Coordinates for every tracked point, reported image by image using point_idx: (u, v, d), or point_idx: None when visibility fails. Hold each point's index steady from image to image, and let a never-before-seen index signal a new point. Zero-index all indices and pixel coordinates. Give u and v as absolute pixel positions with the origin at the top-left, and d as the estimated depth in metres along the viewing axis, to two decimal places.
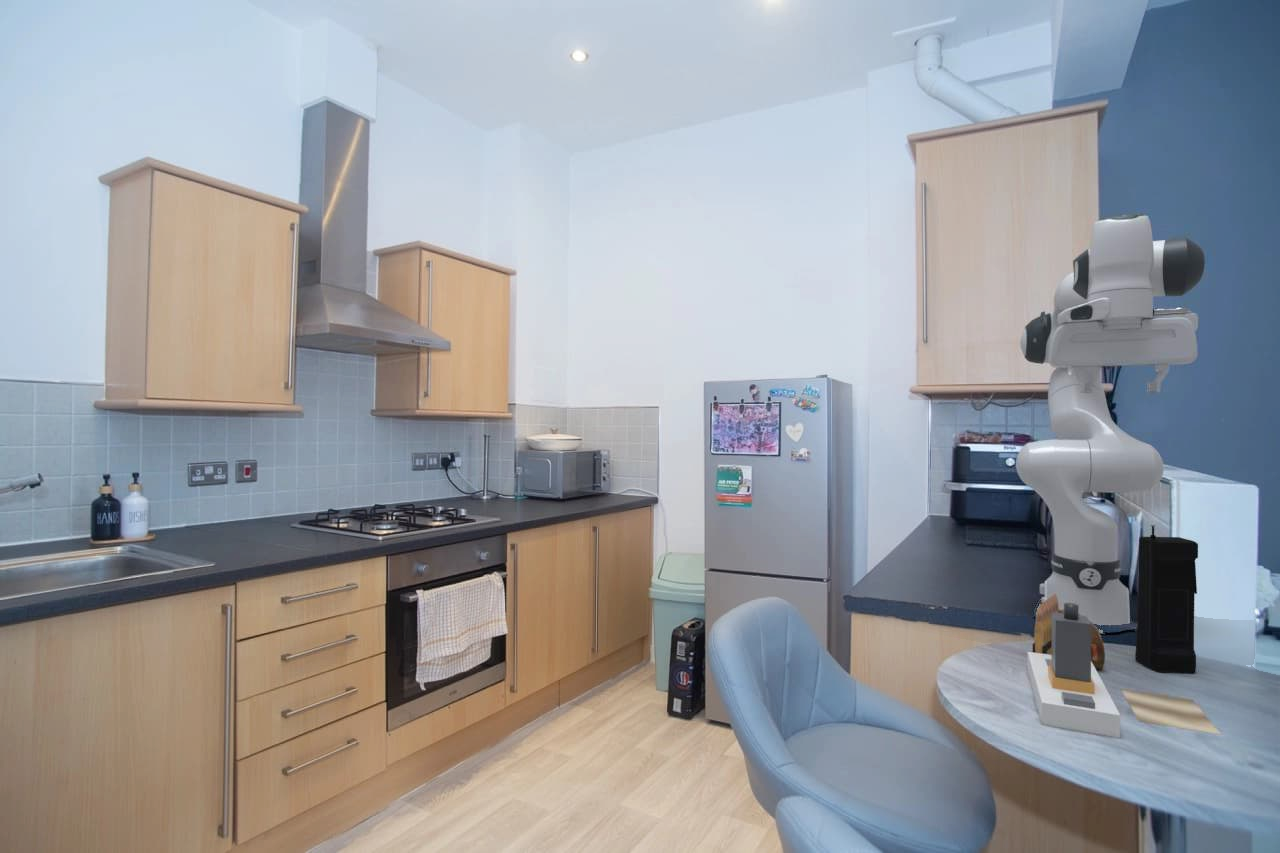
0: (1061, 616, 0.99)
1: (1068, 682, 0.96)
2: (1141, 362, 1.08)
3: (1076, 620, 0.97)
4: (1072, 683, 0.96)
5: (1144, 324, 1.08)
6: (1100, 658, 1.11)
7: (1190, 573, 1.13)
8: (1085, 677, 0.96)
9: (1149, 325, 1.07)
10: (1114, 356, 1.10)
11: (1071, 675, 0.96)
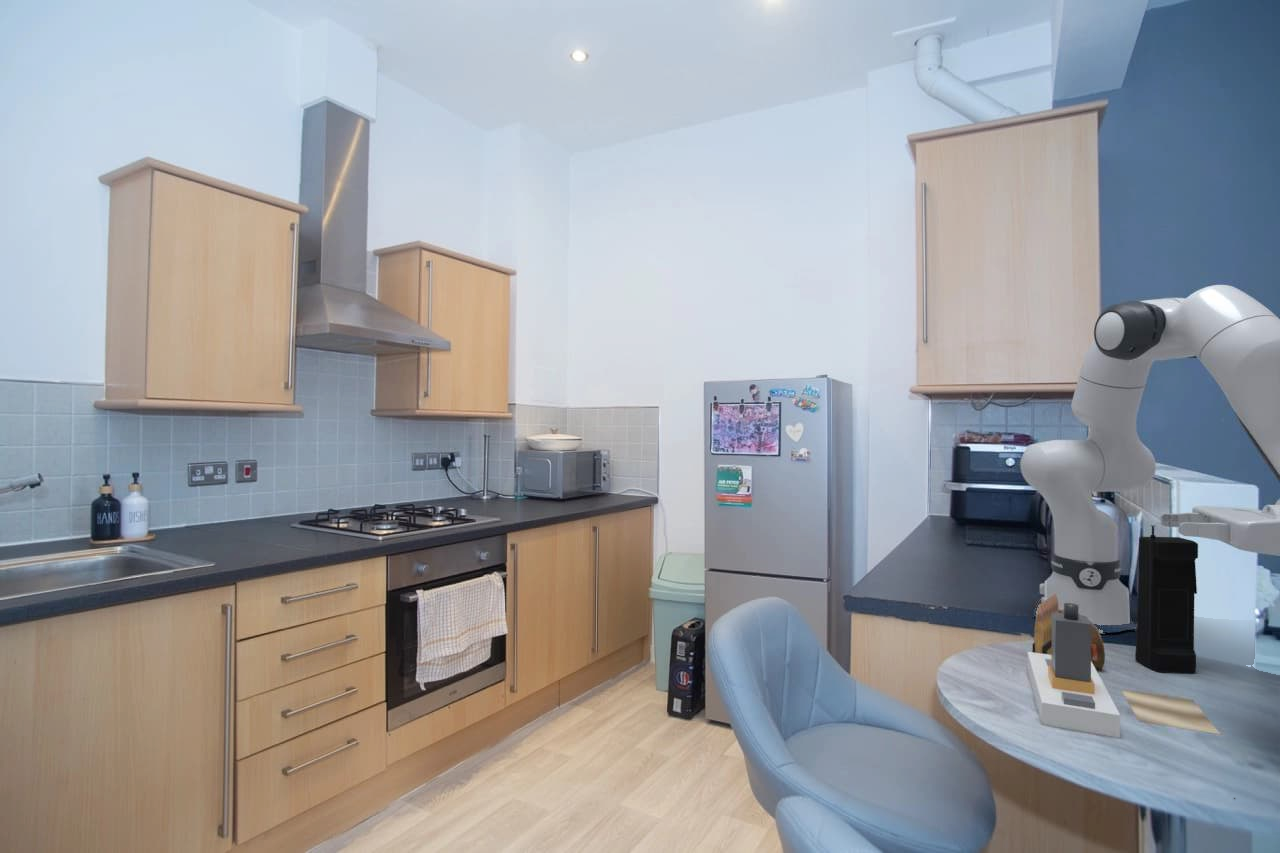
0: (1061, 616, 0.99)
1: (1068, 682, 0.96)
2: None
3: (1076, 620, 0.97)
4: (1072, 683, 0.96)
5: None
6: (1100, 658, 1.11)
7: (1190, 573, 1.13)
8: (1085, 677, 0.96)
9: None
10: None
11: (1071, 675, 0.96)
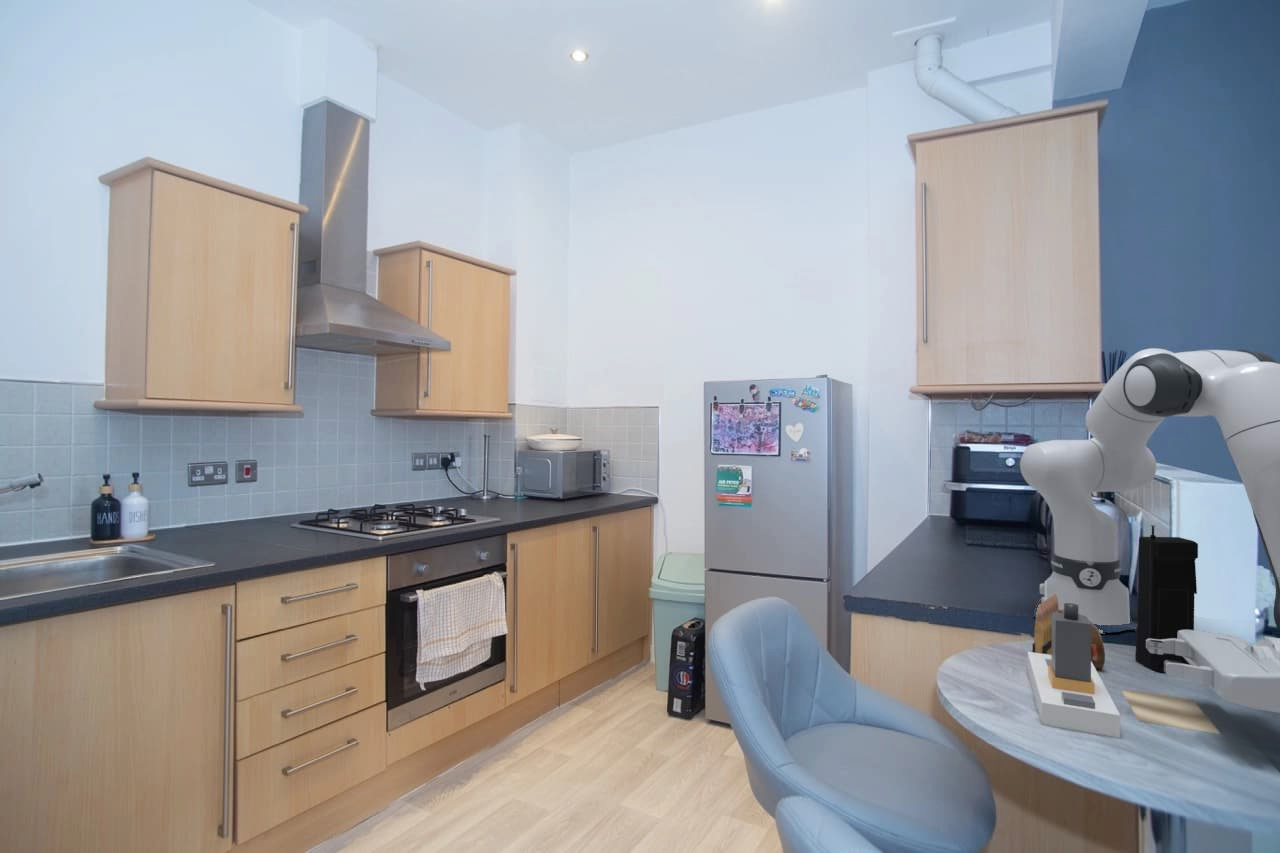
0: (1061, 616, 0.99)
1: (1068, 682, 0.96)
2: None
3: (1076, 620, 0.97)
4: (1072, 683, 0.96)
5: None
6: (1100, 658, 1.11)
7: (1190, 573, 1.13)
8: (1085, 677, 0.96)
9: None
10: None
11: (1071, 675, 0.96)
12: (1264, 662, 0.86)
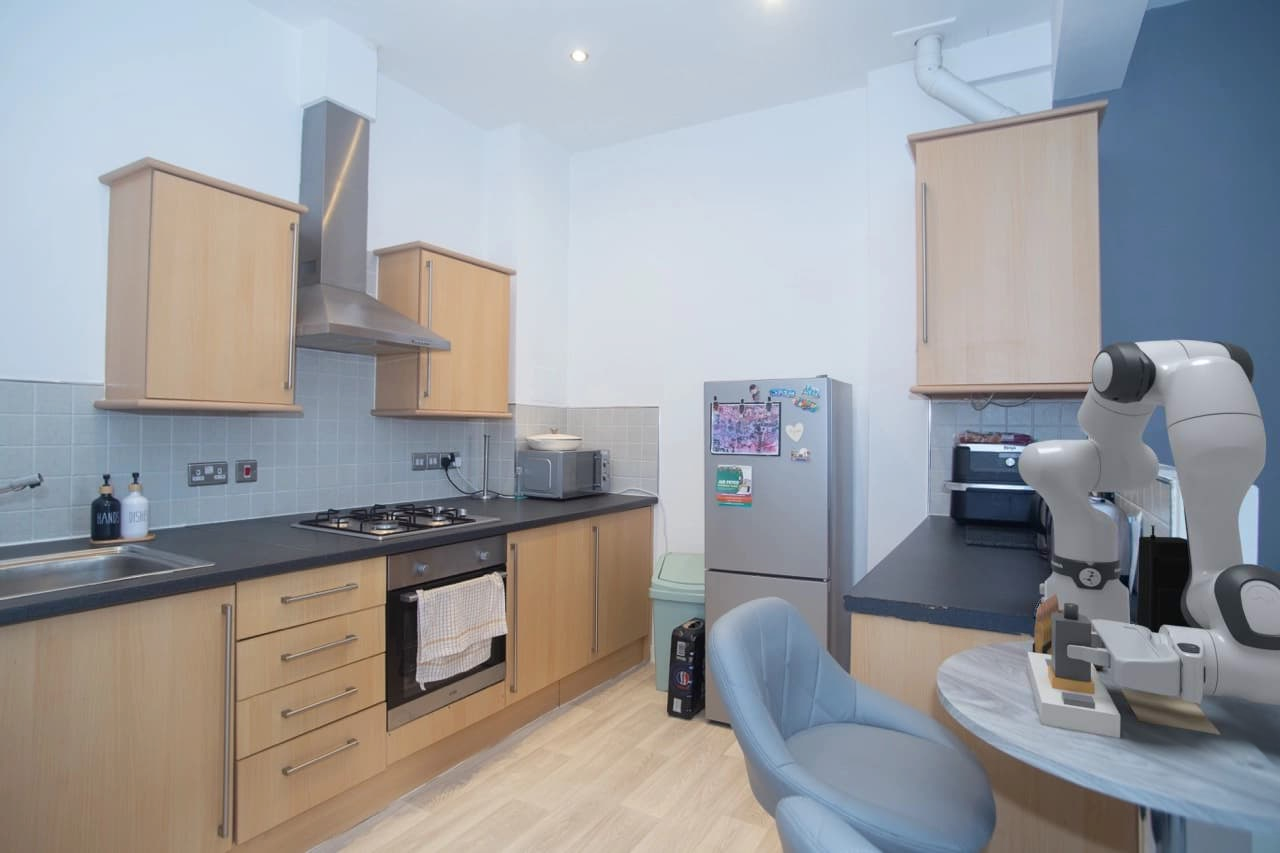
0: (1061, 616, 0.99)
1: (1068, 682, 0.96)
2: None
3: (1076, 620, 0.97)
4: (1072, 683, 0.96)
5: None
6: None
7: None
8: (1085, 677, 0.96)
9: None
10: None
11: (1071, 675, 0.96)
12: (1158, 648, 0.90)
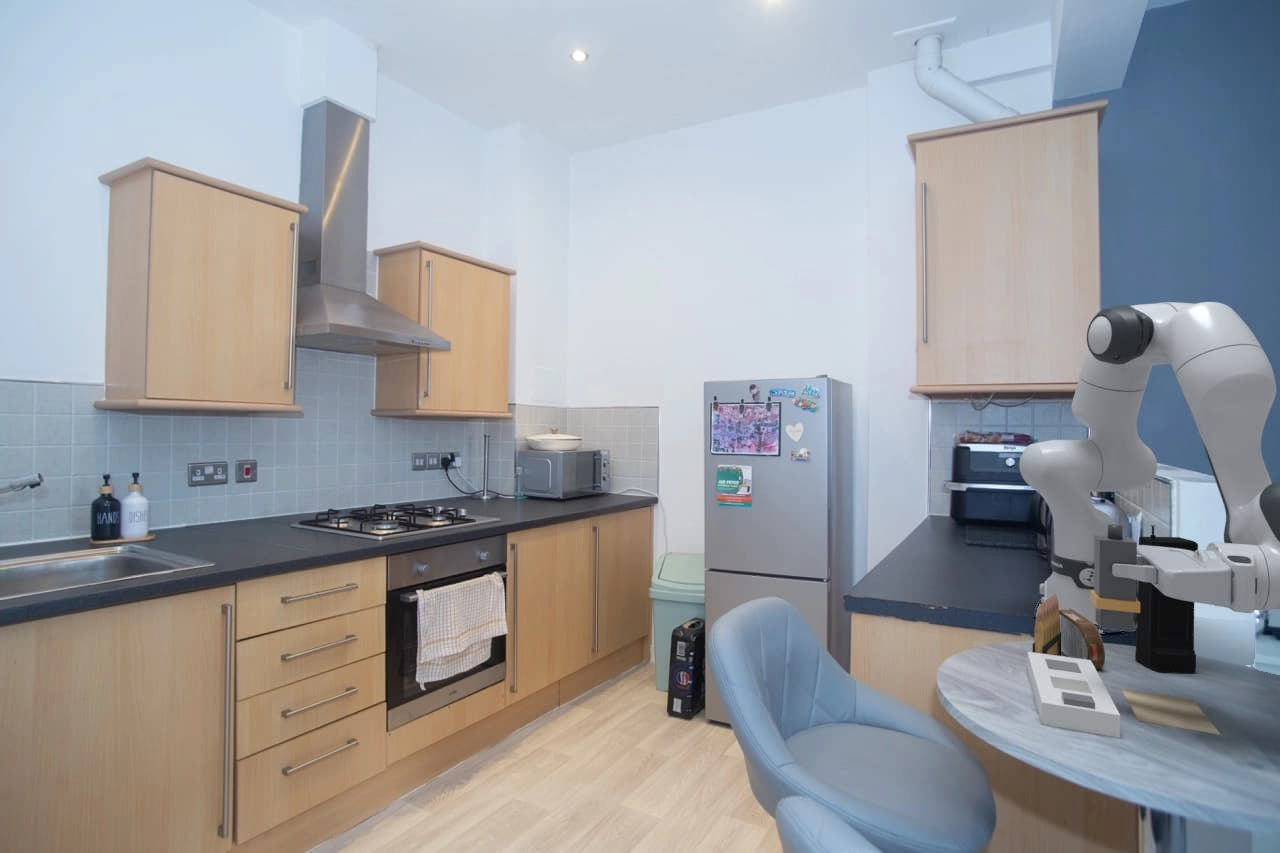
0: (1105, 537, 0.98)
1: (1112, 602, 0.95)
2: None
3: (1120, 540, 0.96)
4: (1117, 602, 0.95)
5: None
6: (1100, 658, 1.11)
7: None
8: (1130, 596, 0.95)
9: None
10: None
11: (1116, 595, 0.95)
12: (1207, 563, 0.89)
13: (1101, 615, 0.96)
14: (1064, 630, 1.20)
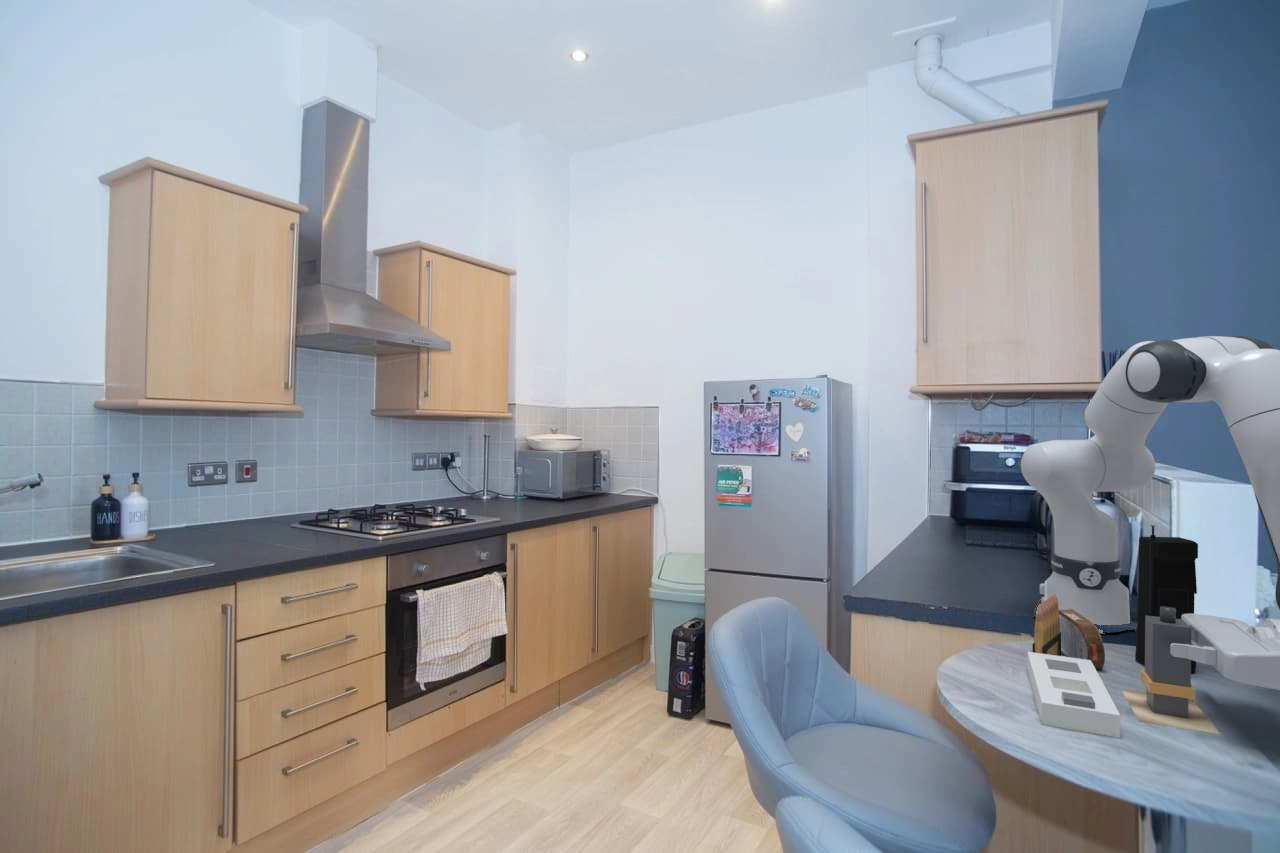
0: (1157, 619, 0.97)
1: (1166, 687, 0.94)
2: None
3: (1173, 623, 0.95)
4: (1171, 688, 0.94)
5: None
6: (1100, 658, 1.11)
7: (1190, 573, 1.13)
8: (1185, 682, 0.94)
9: None
10: None
11: (1170, 680, 0.95)
12: (1266, 642, 0.89)
13: (1154, 699, 0.96)
14: (1064, 630, 1.20)
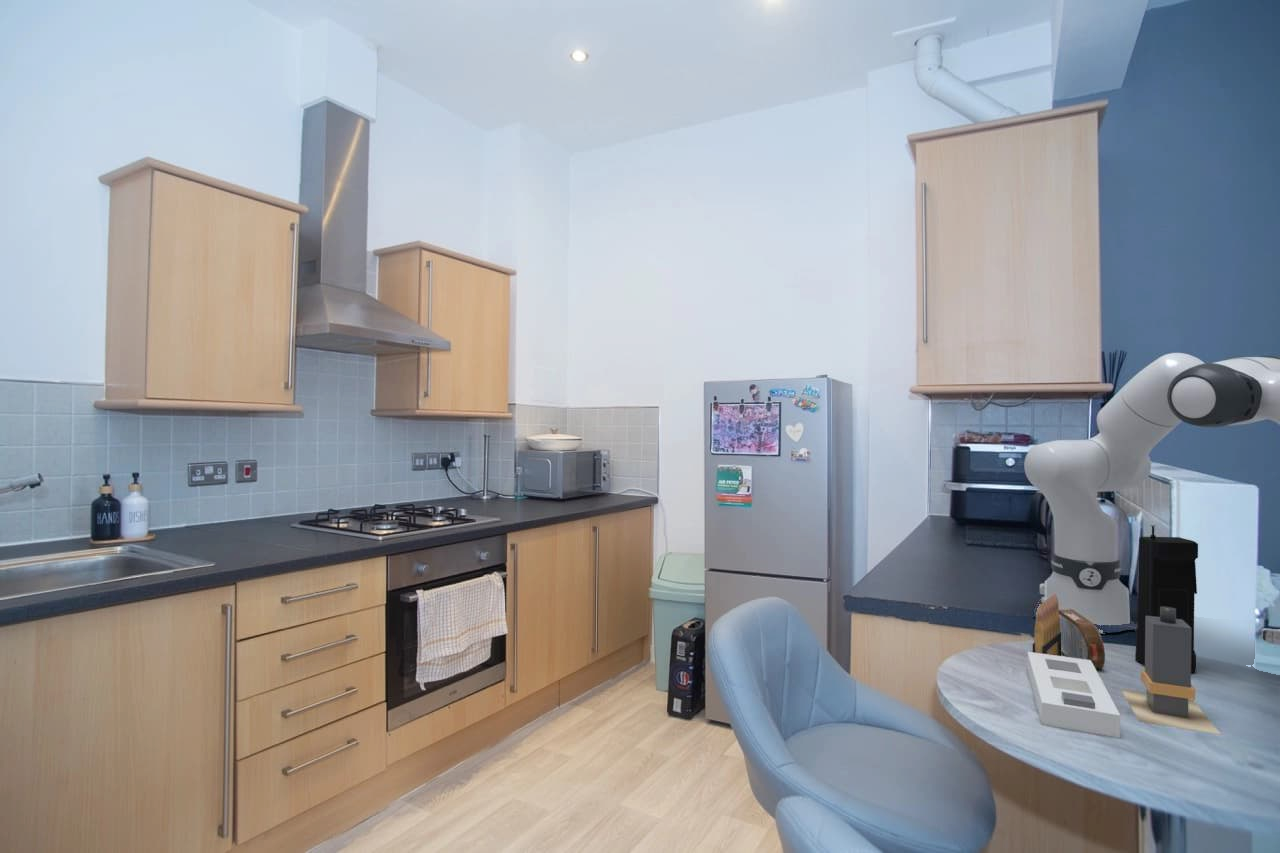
0: (1157, 620, 0.97)
1: (1166, 687, 0.94)
2: None
3: (1174, 624, 0.95)
4: (1171, 688, 0.94)
5: None
6: (1100, 658, 1.11)
7: (1190, 573, 1.13)
8: (1185, 682, 0.94)
9: None
10: None
11: (1170, 680, 0.95)
12: None
13: (1154, 699, 0.96)
14: (1064, 630, 1.20)
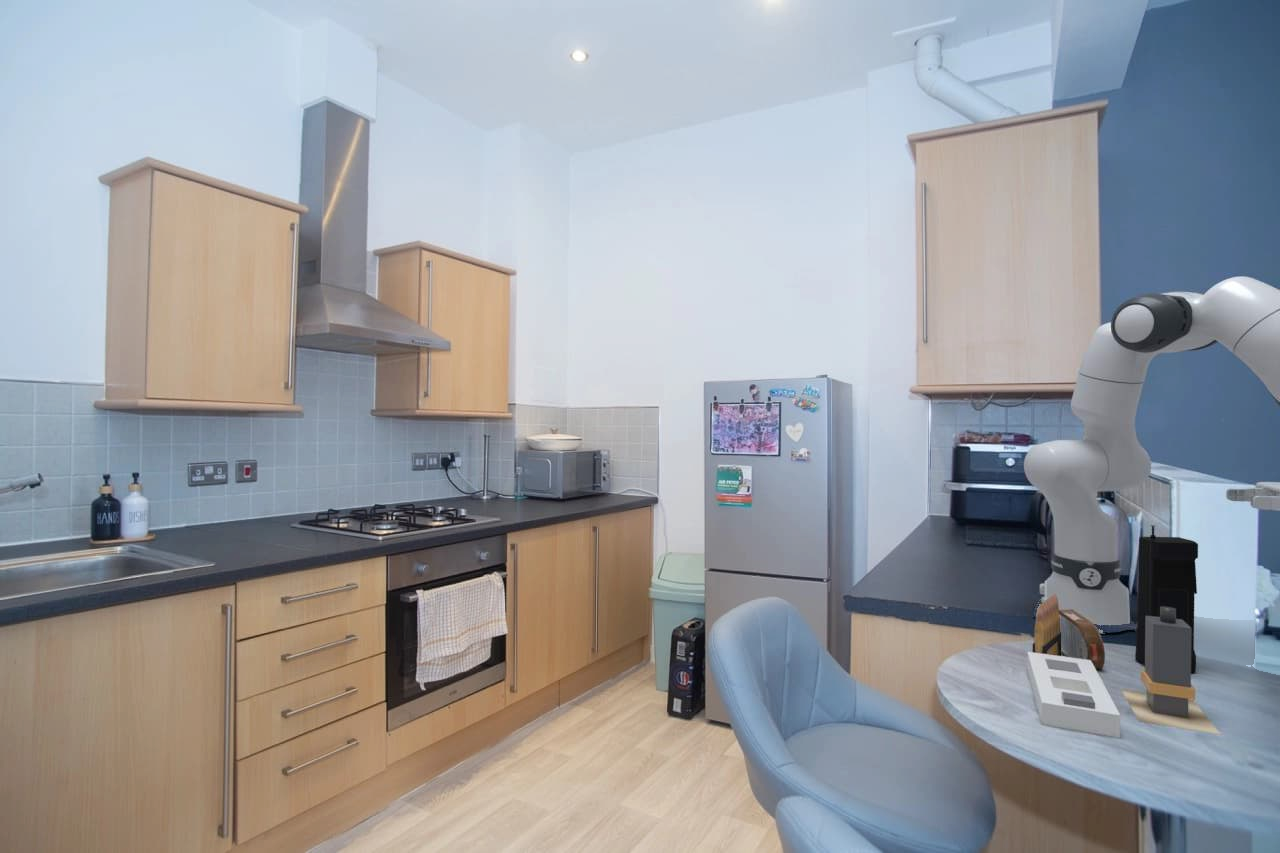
0: (1157, 620, 0.97)
1: (1166, 687, 0.94)
2: None
3: (1174, 624, 0.95)
4: (1171, 688, 0.94)
5: None
6: (1100, 658, 1.11)
7: (1190, 573, 1.13)
8: (1185, 682, 0.94)
9: None
10: None
11: (1170, 680, 0.95)
12: None
13: (1154, 699, 0.96)
14: (1064, 630, 1.20)
